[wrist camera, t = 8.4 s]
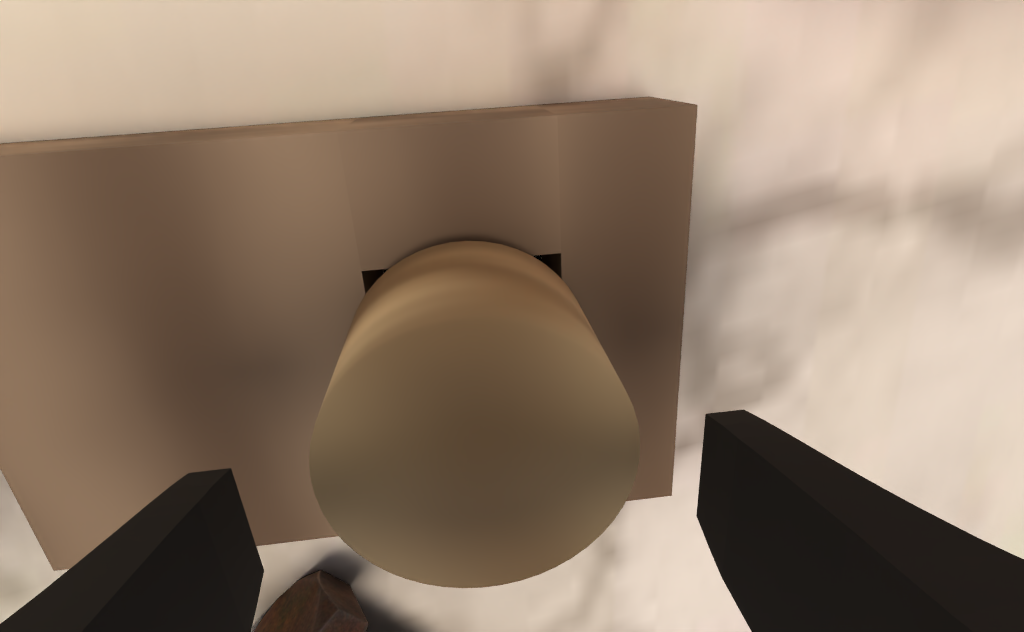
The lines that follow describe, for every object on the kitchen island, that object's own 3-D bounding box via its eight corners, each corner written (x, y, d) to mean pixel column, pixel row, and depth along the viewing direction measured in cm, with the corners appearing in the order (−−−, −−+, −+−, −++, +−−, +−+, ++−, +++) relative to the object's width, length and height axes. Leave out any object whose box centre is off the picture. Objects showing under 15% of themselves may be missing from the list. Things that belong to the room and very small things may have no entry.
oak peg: (391, 389, 17) (355, 611, 10) (348, 216, 15) (264, 350, 8) (566, 360, 17) (645, 559, 10) (549, 186, 15) (633, 291, 8)
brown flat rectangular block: (115, 490, 17) (54, 570, 15) (-33, 146, 13) (-157, 168, 11) (638, 431, 18) (671, 495, 16) (649, 96, 14) (697, 105, 12)
